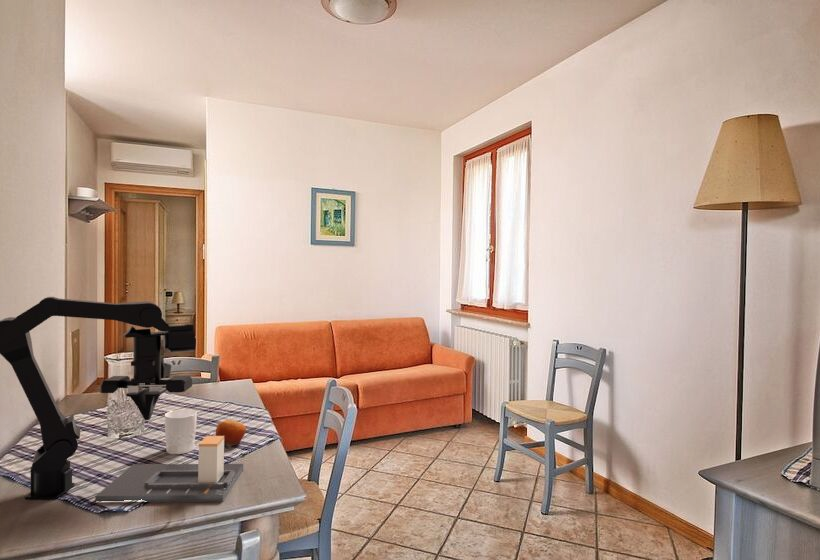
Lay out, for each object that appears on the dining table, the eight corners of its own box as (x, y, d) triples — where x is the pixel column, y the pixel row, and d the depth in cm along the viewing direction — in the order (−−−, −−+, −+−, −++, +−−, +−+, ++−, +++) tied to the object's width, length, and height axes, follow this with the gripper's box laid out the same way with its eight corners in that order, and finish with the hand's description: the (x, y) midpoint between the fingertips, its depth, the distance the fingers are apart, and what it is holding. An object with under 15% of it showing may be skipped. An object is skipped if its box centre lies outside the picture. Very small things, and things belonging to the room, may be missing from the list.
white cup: (183, 457, 124) (184, 419, 124) (157, 453, 125) (157, 416, 125) (202, 446, 132) (203, 410, 131) (177, 443, 133) (178, 407, 133)
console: (95, 503, 99) (95, 492, 99) (133, 470, 115) (133, 461, 115) (223, 501, 101) (223, 491, 101) (243, 469, 117) (243, 460, 117)
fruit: (204, 445, 128) (214, 415, 132) (218, 450, 135) (227, 422, 139) (232, 448, 127) (240, 418, 131) (244, 453, 134) (252, 424, 138)
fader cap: (198, 484, 105) (198, 443, 105) (205, 474, 110) (206, 435, 110) (216, 483, 105) (217, 443, 105) (223, 474, 110) (224, 435, 110)
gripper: (200, 348, 121) (200, 409, 122) (123, 348, 120) (123, 410, 120) (183, 357, 110) (183, 423, 111) (98, 357, 108) (99, 424, 109)
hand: (147, 419), depth 113 cm, fingers closed
